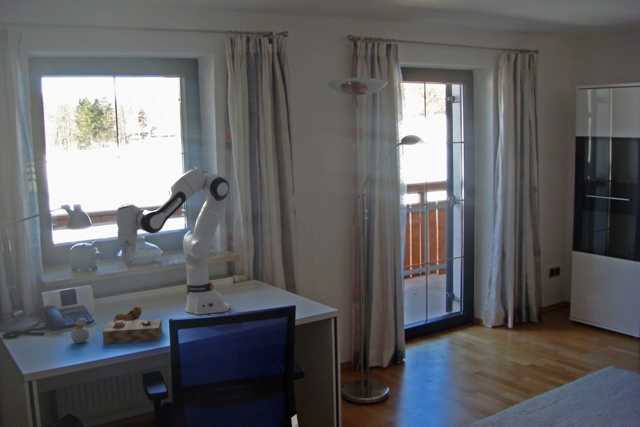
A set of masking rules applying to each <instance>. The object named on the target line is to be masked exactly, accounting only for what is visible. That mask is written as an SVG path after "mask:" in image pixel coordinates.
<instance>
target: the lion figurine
mask: <svg viewBox="0 0 640 427" xmlns="http://www.w3.org/2000/svg"><path fill="white" fill-rule="evenodd" d="M141 315H142V307H141V306H134V307H133V309H132V310H130V311H129V312H128V313H118V314H117V313H116V315H115V317H114V318H113V322H115V321H120V320H121V321H135V320H139V318H140V317H141Z"/></svg>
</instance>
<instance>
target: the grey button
mask: <svg viewBox="0 0 640 427" xmlns="http://www.w3.org/2000/svg"><path fill="white" fill-rule="evenodd" d="M150 325H152V323H151V321H143V322H142V325H141V326H150Z"/></svg>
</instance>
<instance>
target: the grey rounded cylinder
mask: <svg viewBox="0 0 640 427" xmlns="http://www.w3.org/2000/svg"><path fill="white" fill-rule="evenodd" d="M113 322H114V321H113ZM124 326H125V322H124V320H122V321H121V320H120V321H116V320H115V322H114V325H113V328H119V327H124Z"/></svg>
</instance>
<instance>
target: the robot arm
mask: <svg viewBox="0 0 640 427" xmlns="http://www.w3.org/2000/svg"><path fill="white" fill-rule="evenodd" d="M168 188H169V189H168V193H169V198H168V199H167V200H166V201H165V202H164V203H163V204H162V205H161V206H159V208H158V209H156V210H147V209H144V208H141V207H139V206H137V205H135V204H133V203H127V204H123V205H120V206H119V207H118V208H117V210H116V226H117V243H118V244H119V245H120V246H121V262H122V264H126V269H128V270H131V269H132V267H133V259H134V257H135V256H136V253H137V243H138V242H139V241H138V240H139V238H138V230H141V231H143V232H146V233H149V234H157V233H159V232H160V231H162V229H163V228H164V226H165V224H166V222H167V221H168V219H169V218H170V217H172V216H173V215H174V214H175V213H176V212H177V211H178V210H179V209H180V208H181V207H182V206H183V205H184V204H185V203H186V202H187V201H188V200H189V199H191V198H192V197H193V196H195V195H196V193H198V192H201V193H202V194H204V195H206V200H205V201H204V203H203V206H202V207H201V209H200V211H199V214H198V216H197V218H196V220H195V225H194V229H193V232H192V233H191V234H188V235H186V236H185V237H184V238H183V241H182V247H183V253H184V254H183V256H184V261H185V267H186V279H187V280H186V282H187V283H186V286H185V287H186V295H187V297H186V298H187V300H186V301H187V302H186V307H185V312H186V313H188V314H195V315H198V314H199V315H207V314H215V313H223V312H224V313H225V312H227V311H229V310H230V304H229V303H227V302H226V300H225V297H224V296H223V294H222V293H221V292H218V291H217V290H215V289H214V288H215V286H214V283H213V282H210V279H209V278H210V275H209V265H208V262H207V257H208V256H209V255H210V253H211V249H212V248H211V247H212V245H213V242H214V238H215V234H216V232H217V228H218V226H219V225H220V222H221V220H222V217H223V215H224V213H225V209H226V206H227V204H228V197H227V196H228V193H229V190H230V184H229V181H227V179H226V178H224V177H221V176H219V175H218V174H215V173H210V172H207V171H201V170H200V169H198V168H192V169H190V170H189V171H186V172H185V173H184V174H182V175H181V176H180V177H178V178H177V179H176V180H174V181H173V182H172V183H171V185H170V186H169V187H168Z"/></svg>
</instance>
